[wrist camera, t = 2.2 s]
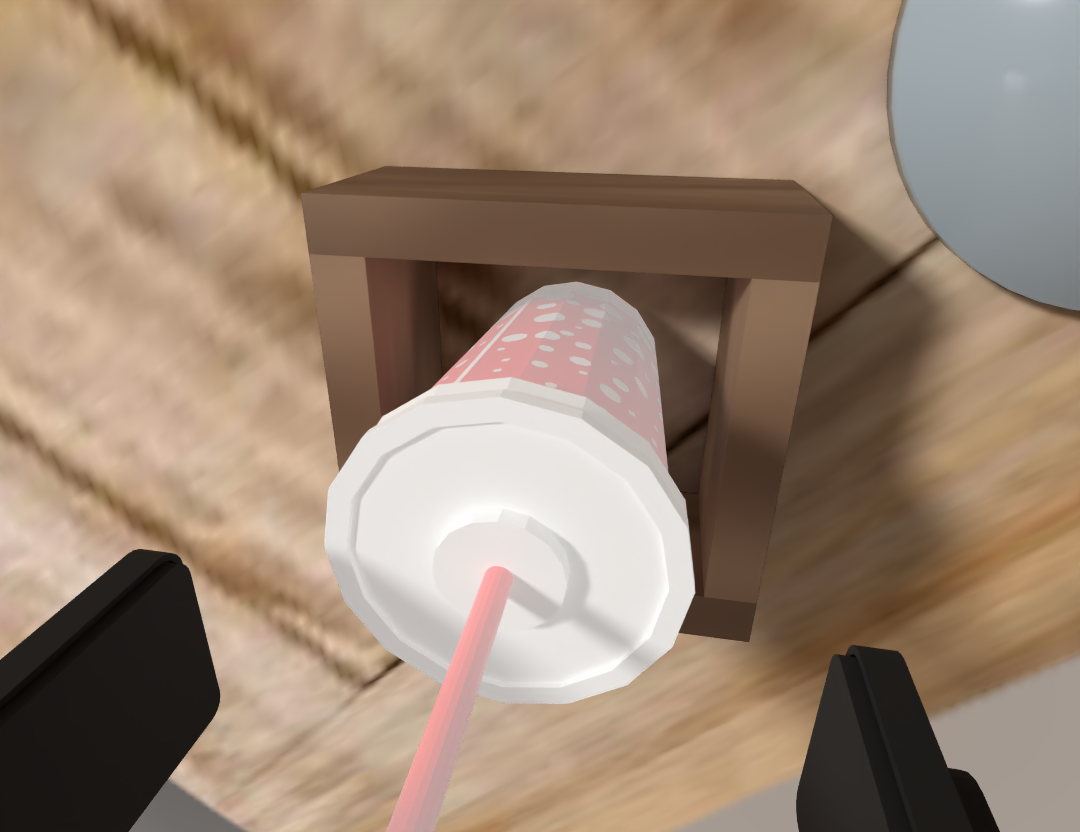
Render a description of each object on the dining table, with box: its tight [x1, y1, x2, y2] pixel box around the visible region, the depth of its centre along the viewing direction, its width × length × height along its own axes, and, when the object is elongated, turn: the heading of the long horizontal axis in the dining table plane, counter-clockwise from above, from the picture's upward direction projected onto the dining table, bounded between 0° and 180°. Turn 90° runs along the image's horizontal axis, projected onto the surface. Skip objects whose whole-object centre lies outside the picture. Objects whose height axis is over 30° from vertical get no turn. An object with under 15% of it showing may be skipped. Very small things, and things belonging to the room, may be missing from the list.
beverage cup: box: [324, 282, 695, 832], centre depth 13 cm, size 6×6×14 cm
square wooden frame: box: [301, 166, 833, 642], centre depth 17 cm, size 10×10×4 cm
